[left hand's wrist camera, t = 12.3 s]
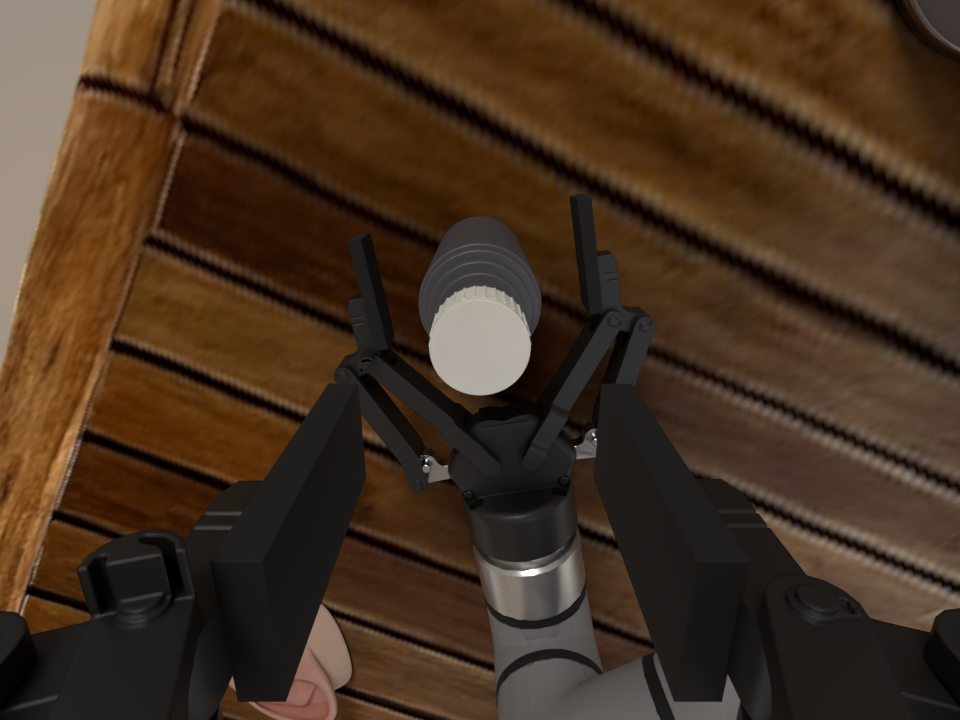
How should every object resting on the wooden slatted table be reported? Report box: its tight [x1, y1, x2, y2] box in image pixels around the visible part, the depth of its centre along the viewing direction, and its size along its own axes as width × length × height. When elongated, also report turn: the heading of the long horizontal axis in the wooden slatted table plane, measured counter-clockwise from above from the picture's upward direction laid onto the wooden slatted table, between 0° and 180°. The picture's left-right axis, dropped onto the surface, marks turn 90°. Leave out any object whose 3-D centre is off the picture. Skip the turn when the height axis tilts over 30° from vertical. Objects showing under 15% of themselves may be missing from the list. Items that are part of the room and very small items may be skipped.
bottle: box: [419, 216, 542, 337], centre depth 30 cm, size 6×6×19 cm
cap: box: [429, 286, 531, 395], centre depth 22 cm, size 4×4×2 cm
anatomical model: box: [229, 604, 352, 720], centre depth 48 cm, size 13×4×12 cm
